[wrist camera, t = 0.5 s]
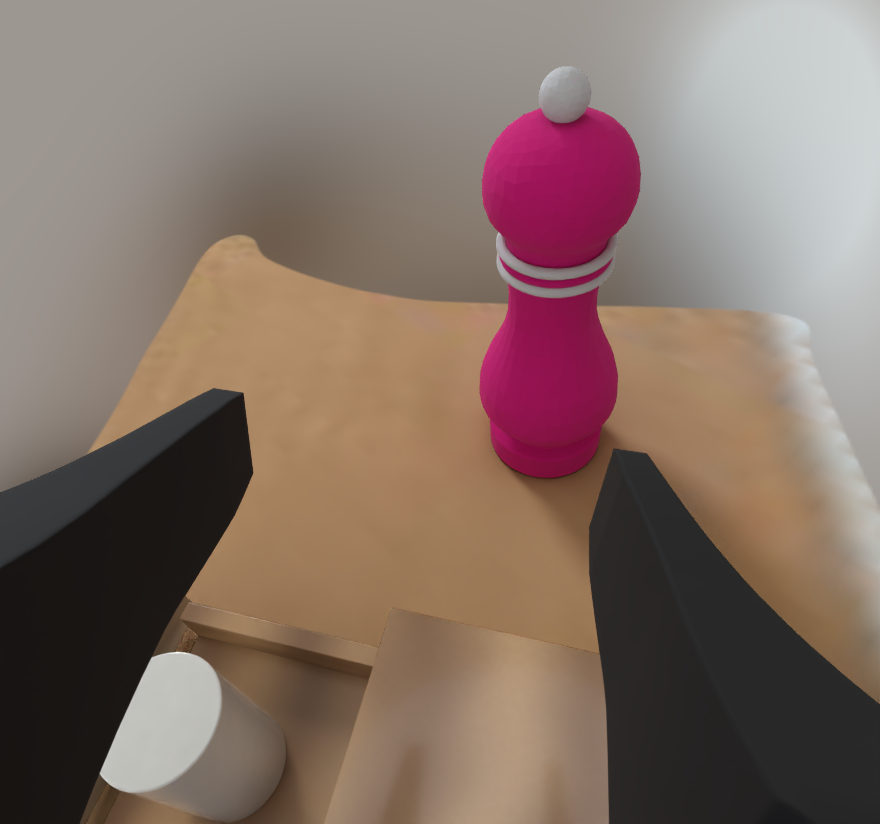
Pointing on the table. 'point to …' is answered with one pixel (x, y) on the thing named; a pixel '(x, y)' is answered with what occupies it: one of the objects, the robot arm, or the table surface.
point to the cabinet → (475, 731)
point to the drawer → (271, 707)
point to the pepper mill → (555, 275)
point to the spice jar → (196, 743)
